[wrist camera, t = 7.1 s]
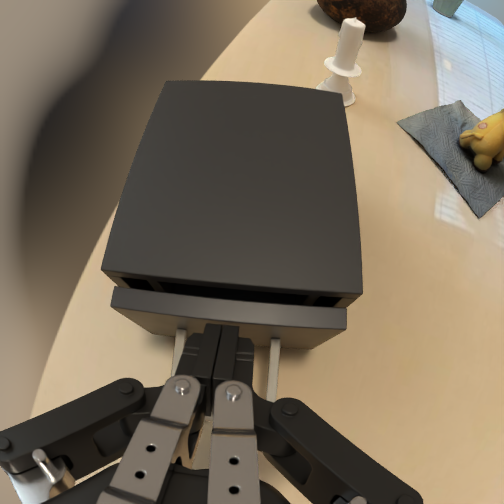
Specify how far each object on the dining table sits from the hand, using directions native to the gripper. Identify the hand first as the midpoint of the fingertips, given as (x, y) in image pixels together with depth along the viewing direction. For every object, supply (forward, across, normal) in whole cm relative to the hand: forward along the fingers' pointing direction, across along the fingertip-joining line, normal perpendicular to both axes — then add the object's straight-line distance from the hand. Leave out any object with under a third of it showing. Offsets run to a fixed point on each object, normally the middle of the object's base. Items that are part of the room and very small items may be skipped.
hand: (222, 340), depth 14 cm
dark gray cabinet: (+16, 0, 0) cm, 16 cm away
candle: (+31, -10, -15) cm, 36 cm away
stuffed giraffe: (+28, -30, -12) cm, 42 cm away
